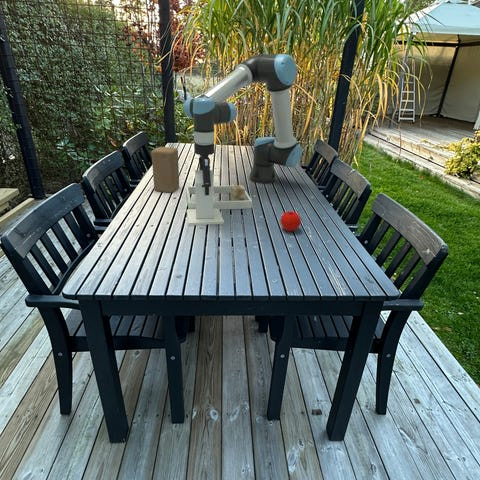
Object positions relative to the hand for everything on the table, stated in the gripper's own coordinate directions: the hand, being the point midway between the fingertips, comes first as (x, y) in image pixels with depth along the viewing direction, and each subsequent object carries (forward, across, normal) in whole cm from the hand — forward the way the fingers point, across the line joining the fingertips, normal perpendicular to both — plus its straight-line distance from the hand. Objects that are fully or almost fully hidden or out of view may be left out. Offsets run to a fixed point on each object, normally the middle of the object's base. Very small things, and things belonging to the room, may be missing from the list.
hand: (204, 196), depth 136 cm
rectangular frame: (+9, -19, +8) cm, 22 cm away
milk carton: (+8, 0, 0) cm, 8 cm away
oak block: (+9, -14, +16) cm, 23 cm away
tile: (+9, 0, 0) cm, 9 cm away
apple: (+10, +15, +32) cm, 36 cm away
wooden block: (+10, -37, -15) cm, 41 cm away
